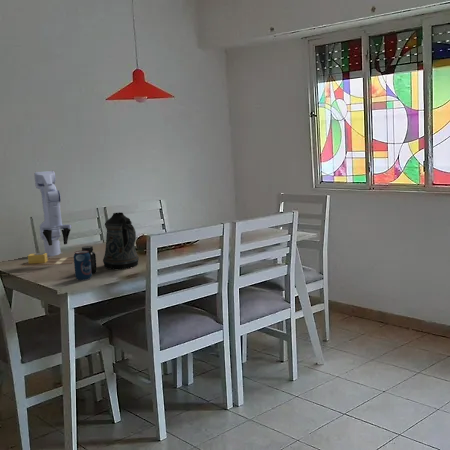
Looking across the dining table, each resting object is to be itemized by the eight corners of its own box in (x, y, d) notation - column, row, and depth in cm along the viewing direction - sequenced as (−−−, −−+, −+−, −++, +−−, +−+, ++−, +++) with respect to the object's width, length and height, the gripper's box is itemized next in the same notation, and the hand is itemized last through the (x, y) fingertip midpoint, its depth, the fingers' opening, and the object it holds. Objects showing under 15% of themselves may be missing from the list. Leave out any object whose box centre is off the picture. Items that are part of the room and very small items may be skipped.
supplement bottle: (78, 274, 273) (76, 248, 271) (87, 270, 279) (85, 245, 277) (91, 275, 270) (89, 248, 268) (100, 271, 276) (97, 245, 274)
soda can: (85, 281, 259) (83, 253, 257) (72, 280, 262) (69, 253, 260) (95, 277, 265) (92, 250, 263) (82, 276, 268) (79, 249, 266)
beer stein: (114, 261, 296) (110, 210, 292) (150, 262, 290) (147, 210, 286) (96, 269, 281) (92, 215, 277) (134, 270, 274) (129, 215, 270)
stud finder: (31, 261, 300) (30, 253, 300) (47, 260, 300) (46, 252, 300) (28, 263, 296) (27, 255, 295) (45, 262, 296) (44, 254, 295)
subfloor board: (31, 261, 307) (31, 259, 306) (79, 258, 307) (78, 256, 306) (21, 268, 291) (21, 266, 291) (71, 265, 291) (71, 263, 291)
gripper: (36, 218, 287) (40, 246, 287) (65, 215, 284) (68, 244, 285) (43, 217, 294) (46, 245, 294) (72, 214, 291) (75, 243, 292)
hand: (58, 244), depth 290 cm, fingers open, 7 cm apart
